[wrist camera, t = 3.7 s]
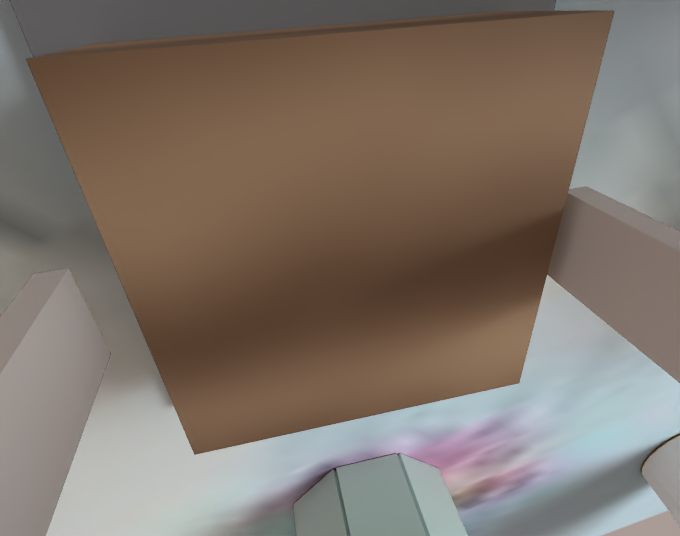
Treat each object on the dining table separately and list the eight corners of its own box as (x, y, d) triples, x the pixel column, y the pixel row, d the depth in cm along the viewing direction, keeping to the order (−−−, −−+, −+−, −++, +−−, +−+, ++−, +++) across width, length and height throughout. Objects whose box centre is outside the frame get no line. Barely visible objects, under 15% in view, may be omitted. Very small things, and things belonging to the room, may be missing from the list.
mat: (-13, -83, 9) (-27, -88, 8) (561, -103, 11) (576, -109, 10) (183, 401, 18) (181, 412, 17) (483, 340, 20) (490, 349, 19)
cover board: (96, 43, 10) (26, 59, 7) (506, 10, 12) (614, 10, 8) (203, 362, 16) (194, 454, 13) (466, 312, 18) (518, 383, 14)
